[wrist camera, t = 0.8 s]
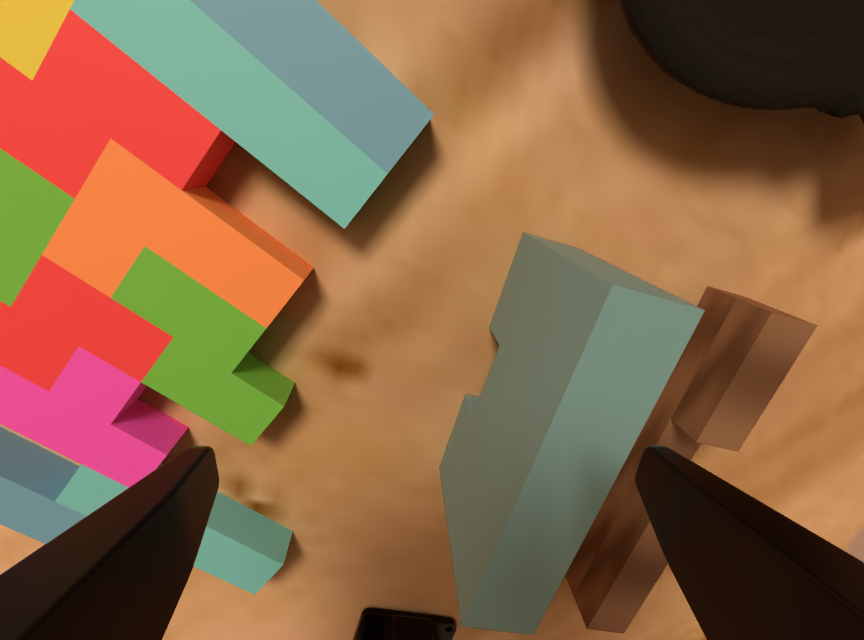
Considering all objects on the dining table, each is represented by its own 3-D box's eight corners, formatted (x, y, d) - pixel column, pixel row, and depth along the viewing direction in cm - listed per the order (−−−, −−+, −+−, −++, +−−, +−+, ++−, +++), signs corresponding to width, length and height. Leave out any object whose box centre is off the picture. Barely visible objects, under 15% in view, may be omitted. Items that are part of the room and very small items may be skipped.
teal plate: (487, 476, 25) (533, 634, 17) (439, 467, 25) (461, 626, 16) (580, 248, 21) (704, 310, 12) (523, 232, 20) (612, 284, 12)
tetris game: (-302, 320, 19) (243, 578, 27) (-411, 345, 17) (227, 622, 25) (-53, -341, 13) (557, 243, 21) (-165, -465, 11) (579, 255, 19)
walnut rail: (594, 571, 29) (623, 633, 25) (561, 567, 28) (587, 628, 25) (747, 297, 22) (817, 325, 19) (708, 286, 22) (771, 312, 18)
